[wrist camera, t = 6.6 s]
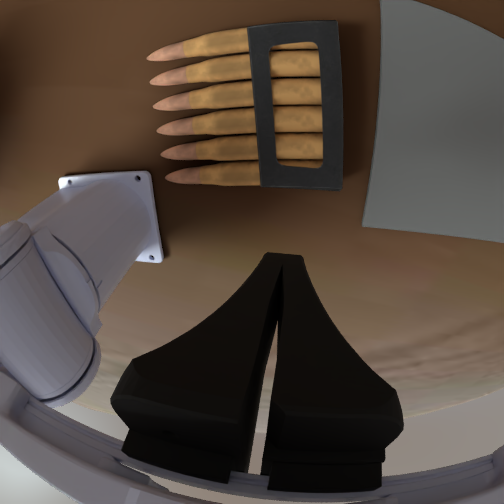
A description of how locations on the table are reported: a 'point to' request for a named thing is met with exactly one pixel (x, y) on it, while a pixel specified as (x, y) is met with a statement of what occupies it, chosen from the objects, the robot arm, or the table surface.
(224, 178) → the ammunition clip
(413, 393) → the table surface
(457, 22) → the mat
